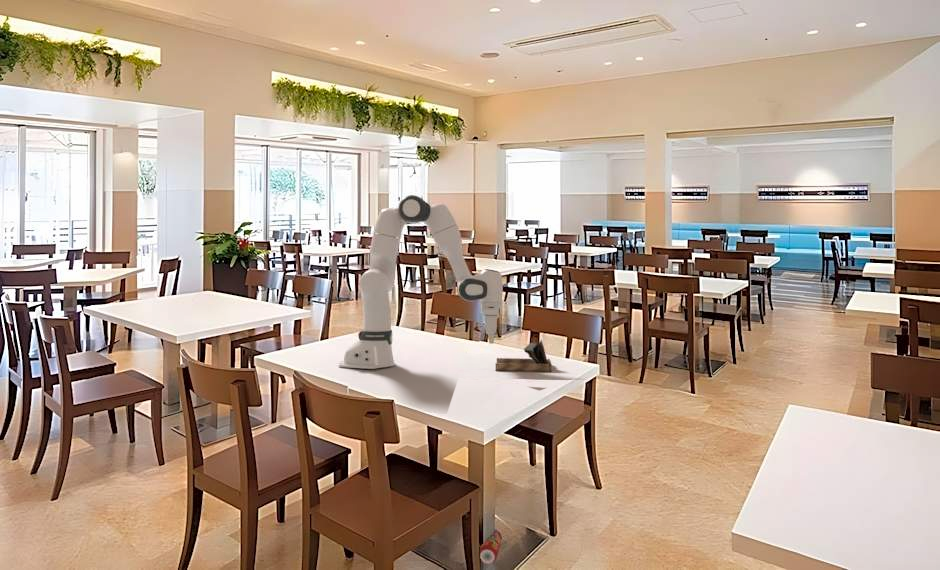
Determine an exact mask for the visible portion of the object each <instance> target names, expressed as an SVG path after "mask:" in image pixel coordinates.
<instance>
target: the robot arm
mask: <svg viewBox="0 0 940 570" xmlns="http://www.w3.org/2000/svg"><path fill="white" fill-rule="evenodd" d="M420 223H424V224H425V225H426V226H427V228H428V230H429V232H430V234H431V237H432V239H433V242H434V243H435V245H436V246H437V248H438V250H440V251H441V253H442V254H443V255H444V257H445V258H446V259H447V261H448V262H449V264H450V267H451V270H452V272H453V274H454V277H455V279H456V292H457V295H458V297H459V298H460V299H462V300H464V301H467V302H474V301H477V300H480V314H482V315H483V319H484V328H485V329H484V330H485V334H486V335H488V342H489V345H490V344H494V343H495V334H496V332H497V328H498V319H499V318H500V315H503V309H504V308H503V304H504V303H503V298H502V297H503V292H504V290H503V288H504V287H503V286H504V285H503V277H502V273H501V272H500V271H497V270H494V269H489V268H483V269H482V270H481V271H480V272H477V273H476V274H474V275H473V274H472V273H471V272H470V269H469V266H468V264H467V262H466V260H465V257H464V254H463V248H462V246H463V240H462V236H461V235H462V234H461V232H460V229H459V226H458V224H457V221H456V220H455V218H454V215H453V214H452V213H451V211H450V209H449V208H448V206H447V205H446V204H444V203H441V202H440V203H438V202H437V203H434V204H431V205H430V203H428V202H427V201H425V200H424V199H423V198H421V196H417V195H415V194H414V195H413V194H410V195H407V196H406V195H405V197H403V198H402V199H401V200H400V201H399V204H398V207H396V208H393V207H386V208H383V209H381V210H380V211H379V214H378V216H377V219H376V222H375V225H374V228H373V232H372V233H373V234H372V237H371V238H372V239H371V242H370V247H369V266H368V267H369V269H368V270H366V271H364V273H363V274H362V275H361V276H360V278H359V281H358V282H359V283H358V285H359V289H360V295H361V296H360V297H361V302H362V303H361V304H362V310H363V311H362V312H363V317H362V318H363V329H362V330H360V331H359V332H358V334H357V337H358V340H356V341H355V342H354V343H353V344H351V345H350V346H349V347H348V348H347V349H346V350H345V352H344V357H343V360H342V361H340V362H338V367H339V368H350V369H351V368H352V369H353V368H354V369H370V370H372V369H373V370H375V369H380V368H388V367H393V366H395V365H396V363H395V359H394V354H393V345H392V344H393V330H392V309H391V304H390V296H389V293H391V291H392V290H393V289H394V286H395V280H396V279H395V277H396V272H397V271H396V269H397V258H398V253H399V252H398V251H399V246H400V242H401V238H402V233H403V229H404V227H405V226H406V225H412V224H413V225H414V224H420Z"/></svg>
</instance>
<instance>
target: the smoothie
mask: <svg viewBox="0 0 940 570" xmlns="http://www.w3.org/2000/svg"><path fill="white" fill-rule="evenodd" d="M503 539H504V537H503V534H502V532H501V531H500V530H499V529H498V528H495V527H494V533H493V534H492V535H491V536H490V537H489V538H488V539H487V540H486V541H485V542H484V543H483V544H482V545H481V546H480V545H479V547H480V558H479V559H481V560H480V561H481V562H482V563H483V564H487V565H490V564H493V563H495V562H496V560H497V558H498V555H499V553H500V549H501V546H502V543H503Z"/></svg>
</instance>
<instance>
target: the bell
mask: <svg viewBox="0 0 940 570" xmlns="http://www.w3.org/2000/svg"><path fill="white" fill-rule="evenodd" d="M523 350H524V353H526V354H528V357H529V359H533V360H534V361H535V362H536V364H548V361H547V359H548V358H547V355H546V351H545V346H544V343H543V339H541V340H540V341H538V342H536V343H534V342H530V343H529V344H527V345H526V347H524V348H523Z"/></svg>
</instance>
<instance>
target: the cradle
mask: <svg viewBox="0 0 940 570" xmlns="http://www.w3.org/2000/svg"><path fill="white" fill-rule="evenodd" d="M546 359H547V361H548V364H536V362H535V361H534V360H533V359H532V358H520V357H518V358H513V357H512V358H511V357H510V358H509V357H507V358H505V357H496V362H495V371H496V372H525V373H526V372H528V373H529V372H531V373H537V372H538V373H552V368H553V367H552V362H551V359H550V358H546Z"/></svg>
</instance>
